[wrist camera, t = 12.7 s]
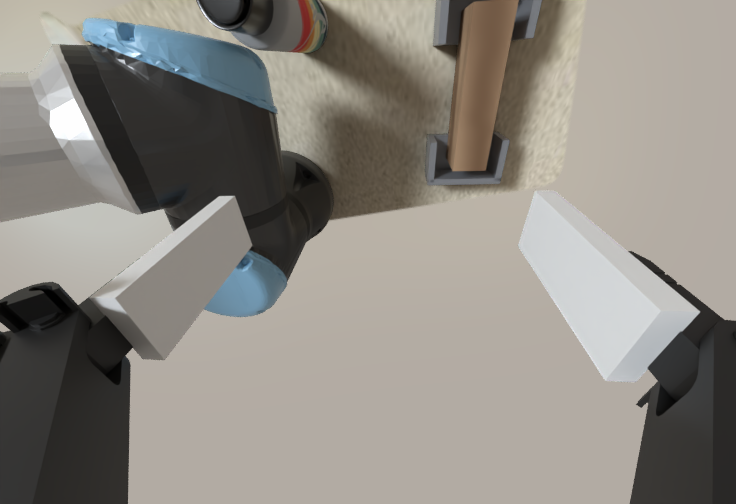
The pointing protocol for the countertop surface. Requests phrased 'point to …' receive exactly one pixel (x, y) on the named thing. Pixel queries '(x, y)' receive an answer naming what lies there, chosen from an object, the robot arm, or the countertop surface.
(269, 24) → the lotion bottle
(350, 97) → the countertop surface
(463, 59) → the slat
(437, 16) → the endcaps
